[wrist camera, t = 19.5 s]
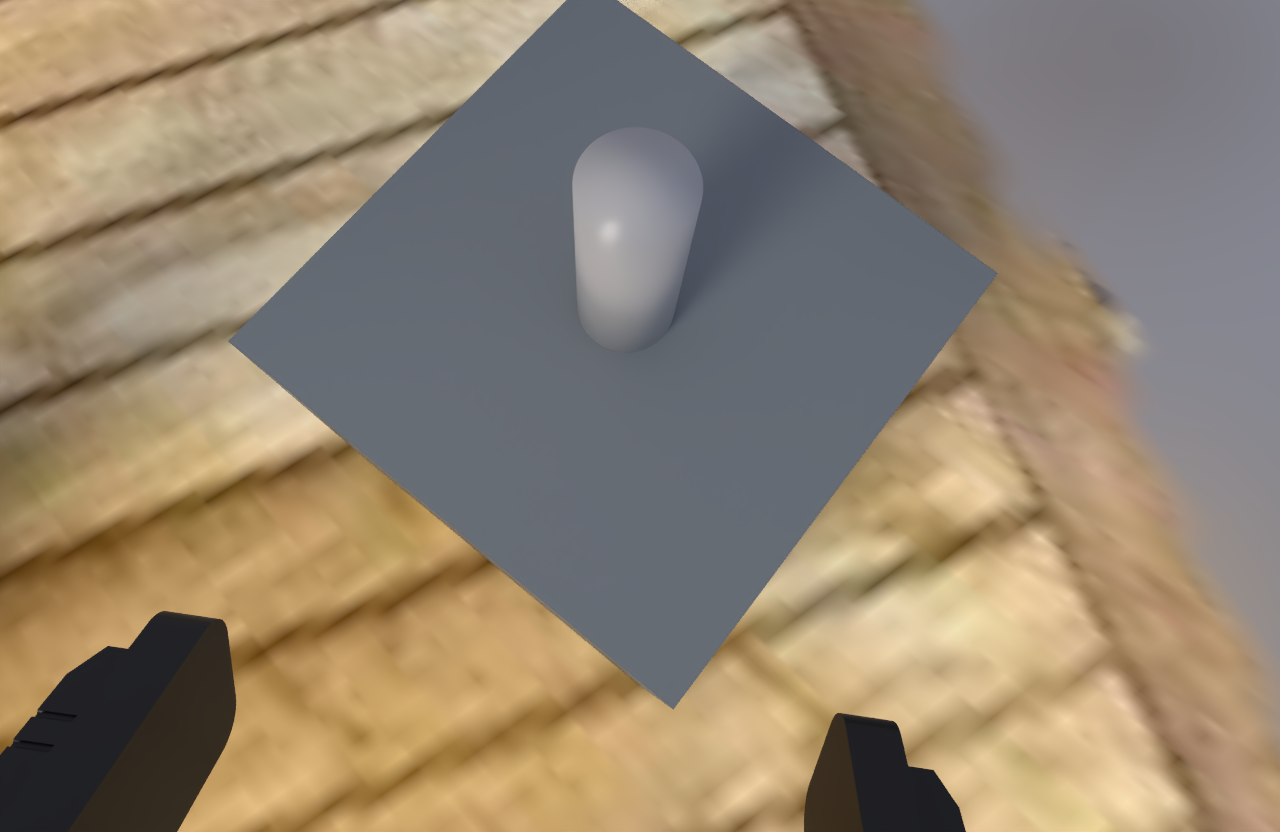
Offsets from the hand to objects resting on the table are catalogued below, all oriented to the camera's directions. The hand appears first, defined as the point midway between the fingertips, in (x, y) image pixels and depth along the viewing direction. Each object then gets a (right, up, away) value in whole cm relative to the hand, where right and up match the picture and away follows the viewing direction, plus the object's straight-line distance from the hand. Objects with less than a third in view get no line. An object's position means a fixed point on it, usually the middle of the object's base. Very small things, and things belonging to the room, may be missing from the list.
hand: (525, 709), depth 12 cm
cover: (0, +3, +35) cm, 35 cm away
